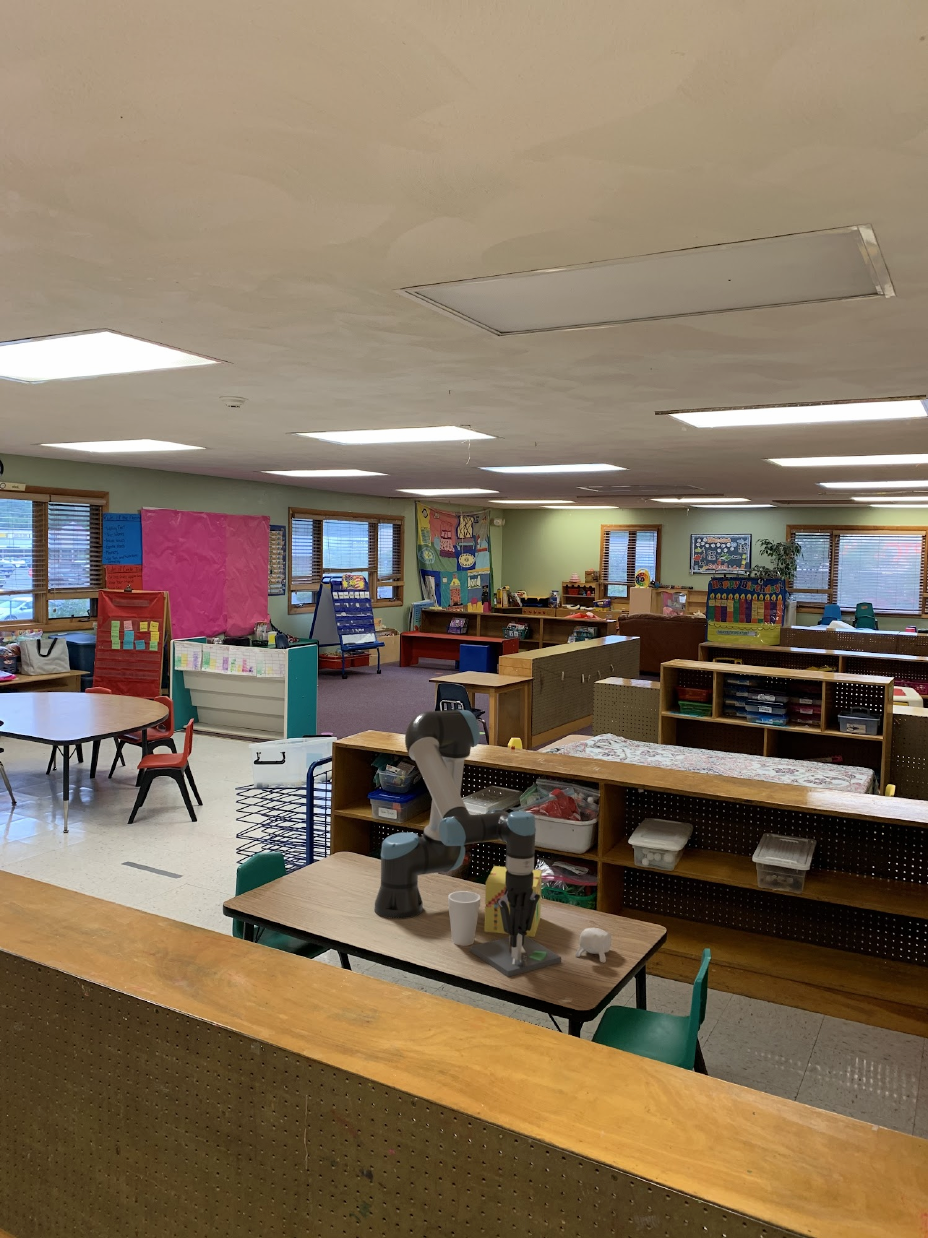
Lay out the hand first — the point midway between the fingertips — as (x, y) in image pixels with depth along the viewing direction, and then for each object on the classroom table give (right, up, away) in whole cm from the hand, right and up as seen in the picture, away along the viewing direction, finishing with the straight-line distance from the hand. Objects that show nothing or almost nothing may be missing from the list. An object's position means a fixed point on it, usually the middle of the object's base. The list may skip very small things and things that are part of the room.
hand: (516, 958), depth 231 cm
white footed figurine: (+22, -4, +10) cm, 24 cm away
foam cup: (-14, -2, +17) cm, 23 cm away
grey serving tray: (0, -3, +8) cm, 8 cm away
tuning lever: (+1, -1, +4) cm, 4 cm away
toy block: (+1, -2, +31) cm, 31 cm away
